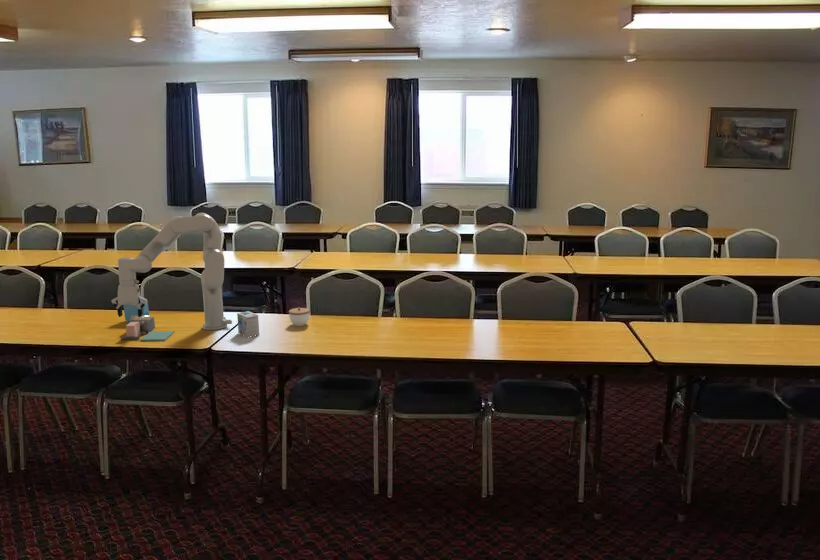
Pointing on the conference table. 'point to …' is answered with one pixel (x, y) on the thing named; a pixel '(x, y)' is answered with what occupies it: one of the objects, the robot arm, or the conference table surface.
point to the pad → (157, 336)
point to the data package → (135, 311)
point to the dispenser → (141, 325)
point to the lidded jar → (299, 316)
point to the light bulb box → (248, 324)
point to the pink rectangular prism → (133, 329)
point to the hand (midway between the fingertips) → (130, 316)
